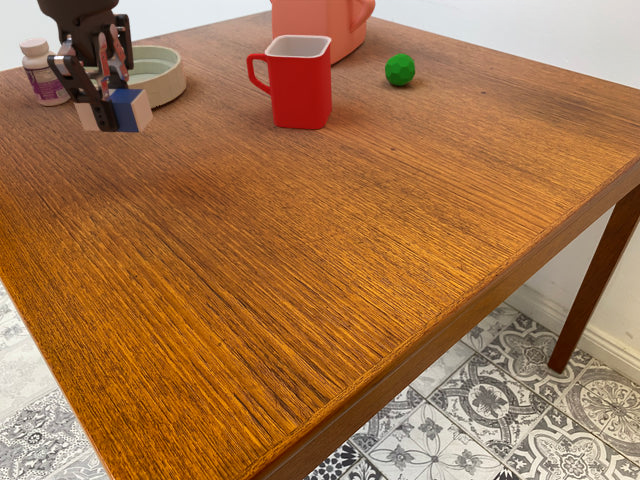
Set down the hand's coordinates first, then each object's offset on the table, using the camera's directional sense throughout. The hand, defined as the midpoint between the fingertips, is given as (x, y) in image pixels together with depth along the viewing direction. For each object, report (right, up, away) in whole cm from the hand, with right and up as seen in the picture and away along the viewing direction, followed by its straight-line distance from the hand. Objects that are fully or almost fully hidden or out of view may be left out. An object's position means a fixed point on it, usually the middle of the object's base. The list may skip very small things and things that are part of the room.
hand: (118, 121), depth 60 cm
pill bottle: (-21, +10, +27) cm, 36 cm away
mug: (+19, +5, +19) cm, 27 cm away
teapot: (+25, +24, +40) cm, 53 cm away
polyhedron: (+36, +12, +26) cm, 46 cm away
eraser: (0, 0, 0) cm, 0 cm away
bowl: (-8, +11, +28) cm, 31 cm away
